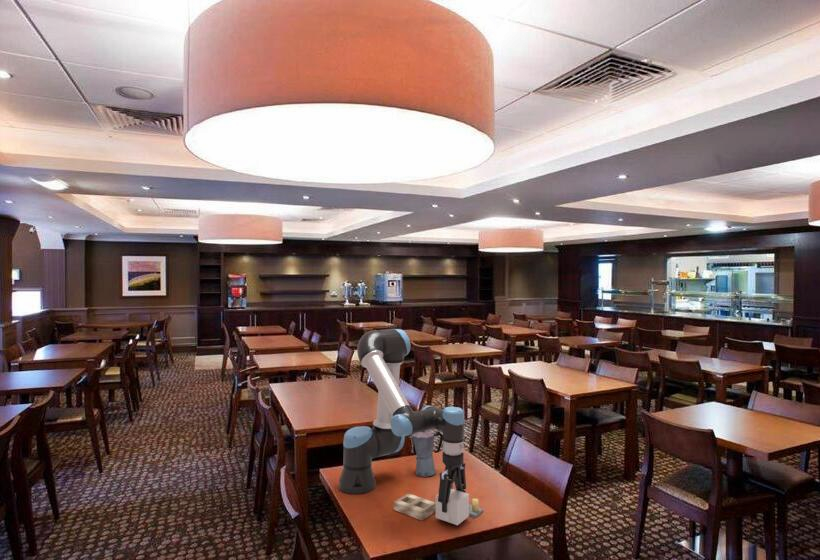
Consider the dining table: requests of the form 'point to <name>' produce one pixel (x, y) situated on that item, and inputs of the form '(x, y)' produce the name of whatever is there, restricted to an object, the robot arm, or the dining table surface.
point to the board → (475, 508)
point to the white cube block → (455, 507)
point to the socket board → (415, 506)
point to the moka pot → (425, 452)
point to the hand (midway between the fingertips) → (452, 515)
